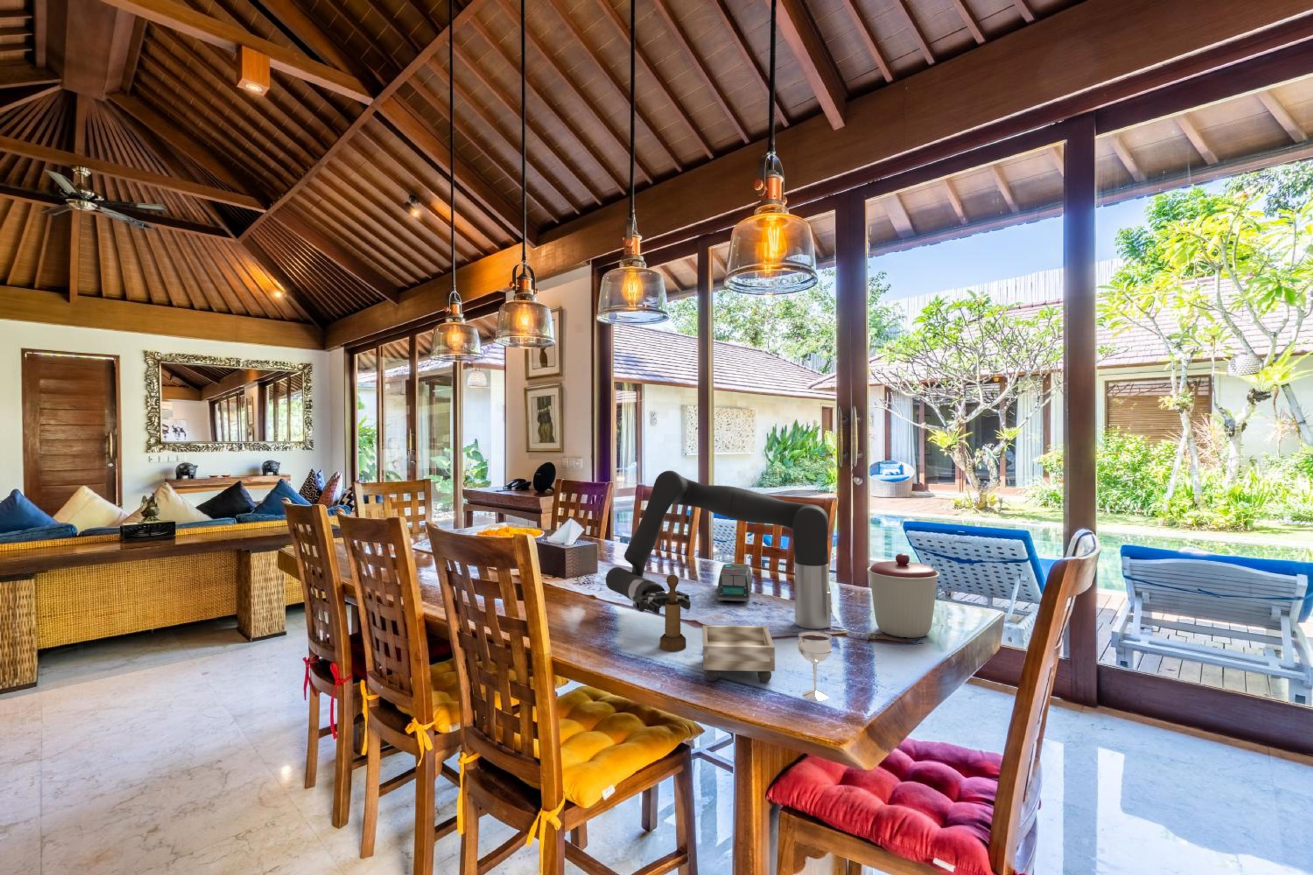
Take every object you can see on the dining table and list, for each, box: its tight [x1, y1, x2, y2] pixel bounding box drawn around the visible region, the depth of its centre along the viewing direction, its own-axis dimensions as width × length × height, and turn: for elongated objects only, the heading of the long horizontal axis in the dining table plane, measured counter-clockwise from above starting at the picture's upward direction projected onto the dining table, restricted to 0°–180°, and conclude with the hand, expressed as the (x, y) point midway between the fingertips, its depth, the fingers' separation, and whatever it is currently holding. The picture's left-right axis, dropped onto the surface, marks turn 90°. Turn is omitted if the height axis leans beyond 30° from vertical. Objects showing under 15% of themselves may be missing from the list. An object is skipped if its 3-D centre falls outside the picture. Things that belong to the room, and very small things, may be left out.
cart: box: [702, 625, 776, 683], centre depth 138 cm, size 15×15×8 cm
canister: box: [866, 552, 941, 639], centre depth 165 cm, size 18×18×21 cm
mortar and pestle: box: [659, 574, 687, 652], centre depth 155 cm, size 7×6×18 cm
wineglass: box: [797, 630, 833, 701], centre depth 125 cm, size 7×7×12 cm
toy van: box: [717, 563, 754, 603], centre depth 207 cm, size 11×25×10 cm, turn 169°
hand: (673, 607), depth 154 cm, fingers open, 8 cm apart
